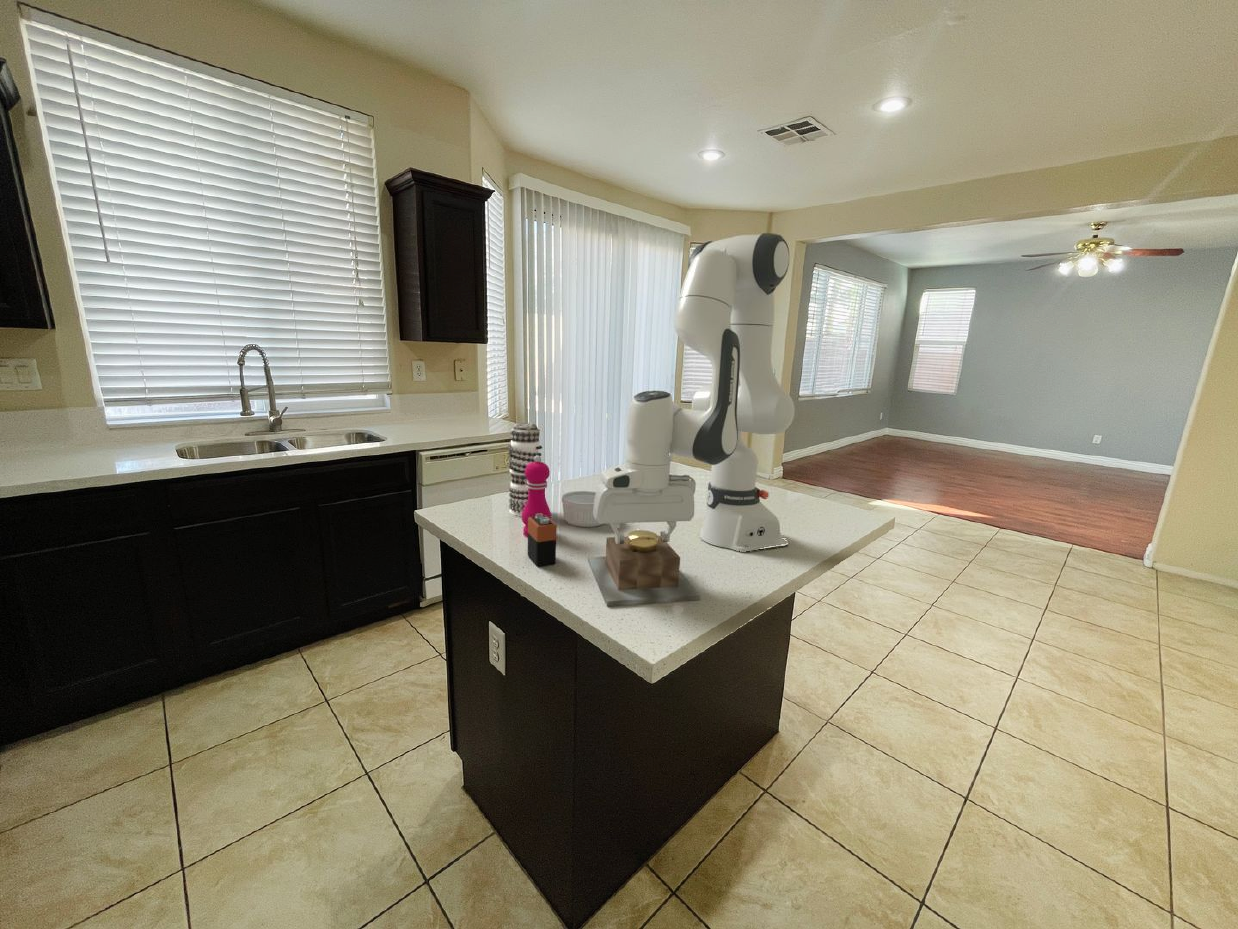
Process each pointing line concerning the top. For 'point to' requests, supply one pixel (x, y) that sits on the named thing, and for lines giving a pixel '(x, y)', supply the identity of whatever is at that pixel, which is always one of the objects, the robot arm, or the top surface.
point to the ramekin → (579, 508)
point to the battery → (542, 540)
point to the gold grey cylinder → (642, 541)
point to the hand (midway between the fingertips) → (642, 542)
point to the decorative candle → (521, 463)
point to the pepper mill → (536, 491)
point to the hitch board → (639, 593)
